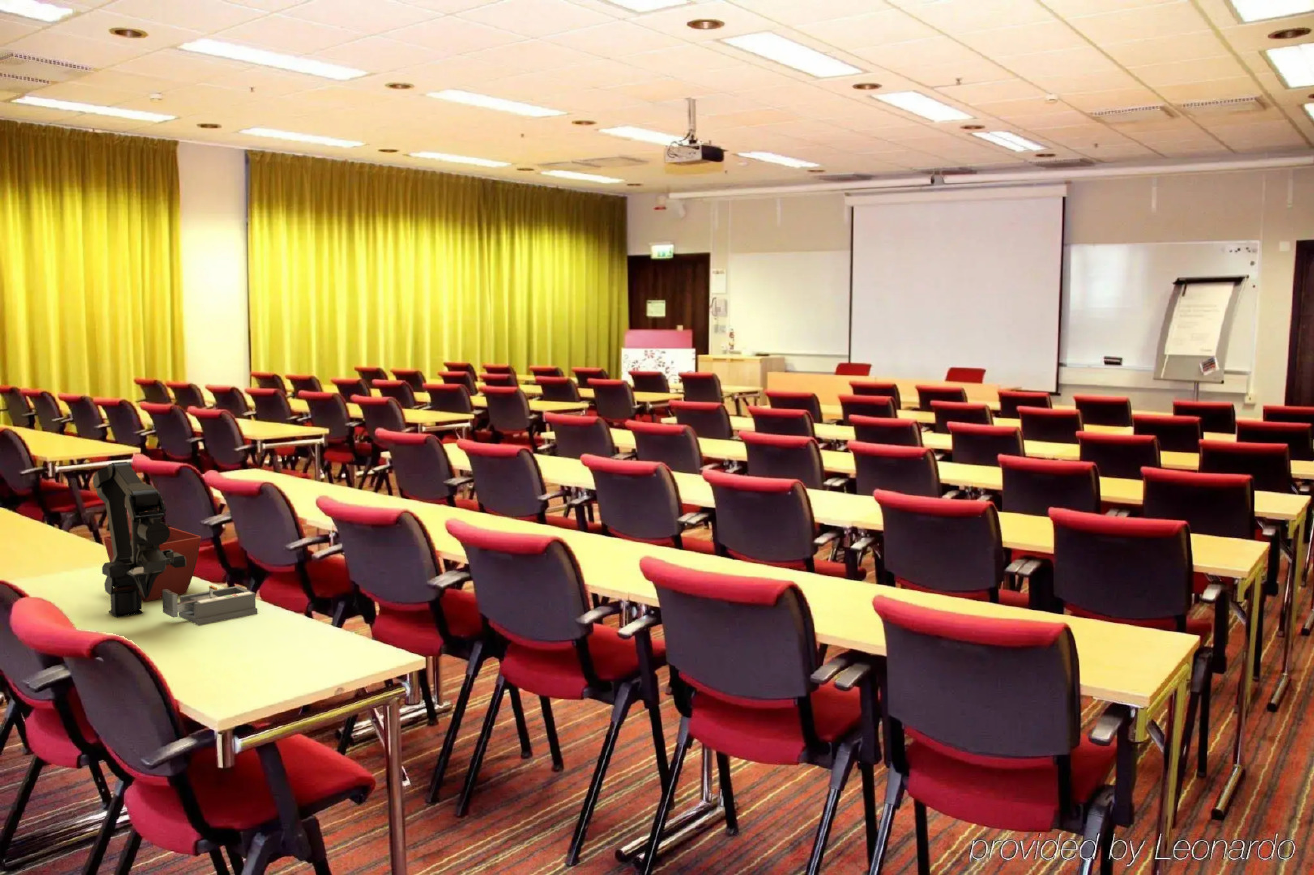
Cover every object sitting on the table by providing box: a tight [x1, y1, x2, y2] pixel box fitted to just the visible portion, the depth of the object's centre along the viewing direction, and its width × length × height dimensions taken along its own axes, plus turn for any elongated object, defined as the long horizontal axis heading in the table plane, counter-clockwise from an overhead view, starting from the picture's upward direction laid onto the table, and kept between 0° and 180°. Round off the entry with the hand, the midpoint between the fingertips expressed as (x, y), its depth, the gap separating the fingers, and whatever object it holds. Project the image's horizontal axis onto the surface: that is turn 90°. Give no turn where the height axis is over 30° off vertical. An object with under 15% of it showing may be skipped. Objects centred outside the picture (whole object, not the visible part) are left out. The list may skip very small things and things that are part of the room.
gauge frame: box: [178, 585, 258, 626], centre depth 280 cm, size 16×12×6 cm
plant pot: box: [103, 526, 202, 602], centre depth 297 cm, size 19×19×17 cm
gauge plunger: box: [161, 585, 218, 619], centre depth 274 cm, size 13×9×7 cm
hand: (145, 597), depth 266 cm, fingers closed
